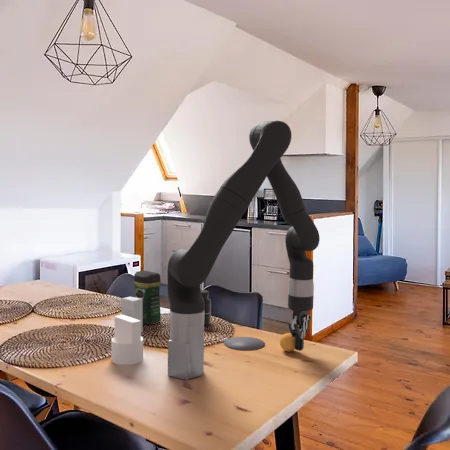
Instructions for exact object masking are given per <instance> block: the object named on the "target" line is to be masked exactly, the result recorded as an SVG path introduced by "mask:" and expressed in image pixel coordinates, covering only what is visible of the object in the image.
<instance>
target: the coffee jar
mask: <svg viewBox="0 0 450 450" xmlns="http://www.w3.org/2000/svg"><path fill="white" fill-rule="evenodd" d="M133 284H134V297H135V298H141V299H143V325H154V324H153V323H156V322H158V323H159V321H160V322H161V320H162V319H161V317H162V316H161V300H160V298H161V297H160V295H161V294H160V288H161V285H162V278H161V274H159V272H154V271H150V270H149V271H148V270H139V271H136V272H135V273H134V278H133ZM156 324H157V323H156Z"/></svg>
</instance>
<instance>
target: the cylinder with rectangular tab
mask: <svg viewBox="0 0 450 450" xmlns="http://www.w3.org/2000/svg"><path fill="white" fill-rule="evenodd" d="M141 335H142V334H141V320H138V319H135V318H132V317H129V316H126V315H122V314H119V315H115V316H114V336H113V337H112V338H111V346H110V347H111V348H110V349H111V353H110V355H111V362H112V363H113V364H116V365H119V366H131V365H136V364H139V363H141V362H143V360H144V337H143V336H141Z"/></svg>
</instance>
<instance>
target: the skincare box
mask: <svg viewBox="0 0 450 450" xmlns="http://www.w3.org/2000/svg"><path fill="white" fill-rule="evenodd" d="M121 315H126V316H129V317H132V318H135V319H138V320H141V332H144V331H143V328H144V327H143V325H144V324H143V299H141V298H135V296H127V297H122V298H121Z"/></svg>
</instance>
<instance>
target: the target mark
mask: <svg viewBox="0 0 450 450" xmlns="http://www.w3.org/2000/svg"><path fill="white" fill-rule="evenodd" d="M223 344H224V346H225V347H227V348H228V349H233V350H237V351H257V350H261V349H263V348H264V347H265V345H266V344H265V342H264V340H261V339H260V338H256V337H252V336H235V337H234V336H233V337H230V338H229V337H228V339H227V340H225V341H223Z"/></svg>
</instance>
